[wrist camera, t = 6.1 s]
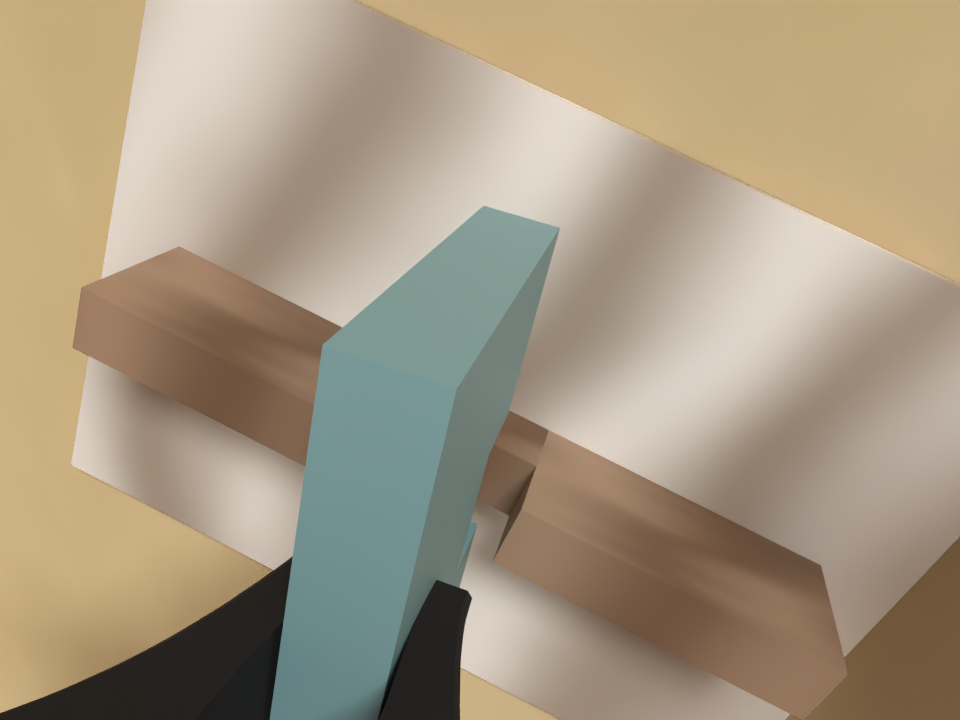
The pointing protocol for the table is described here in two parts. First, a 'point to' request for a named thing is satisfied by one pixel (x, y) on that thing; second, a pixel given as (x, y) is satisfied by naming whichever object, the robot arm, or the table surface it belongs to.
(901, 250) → the table surface
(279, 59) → the off-white flat board
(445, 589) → the robot arm
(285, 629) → the teal block
